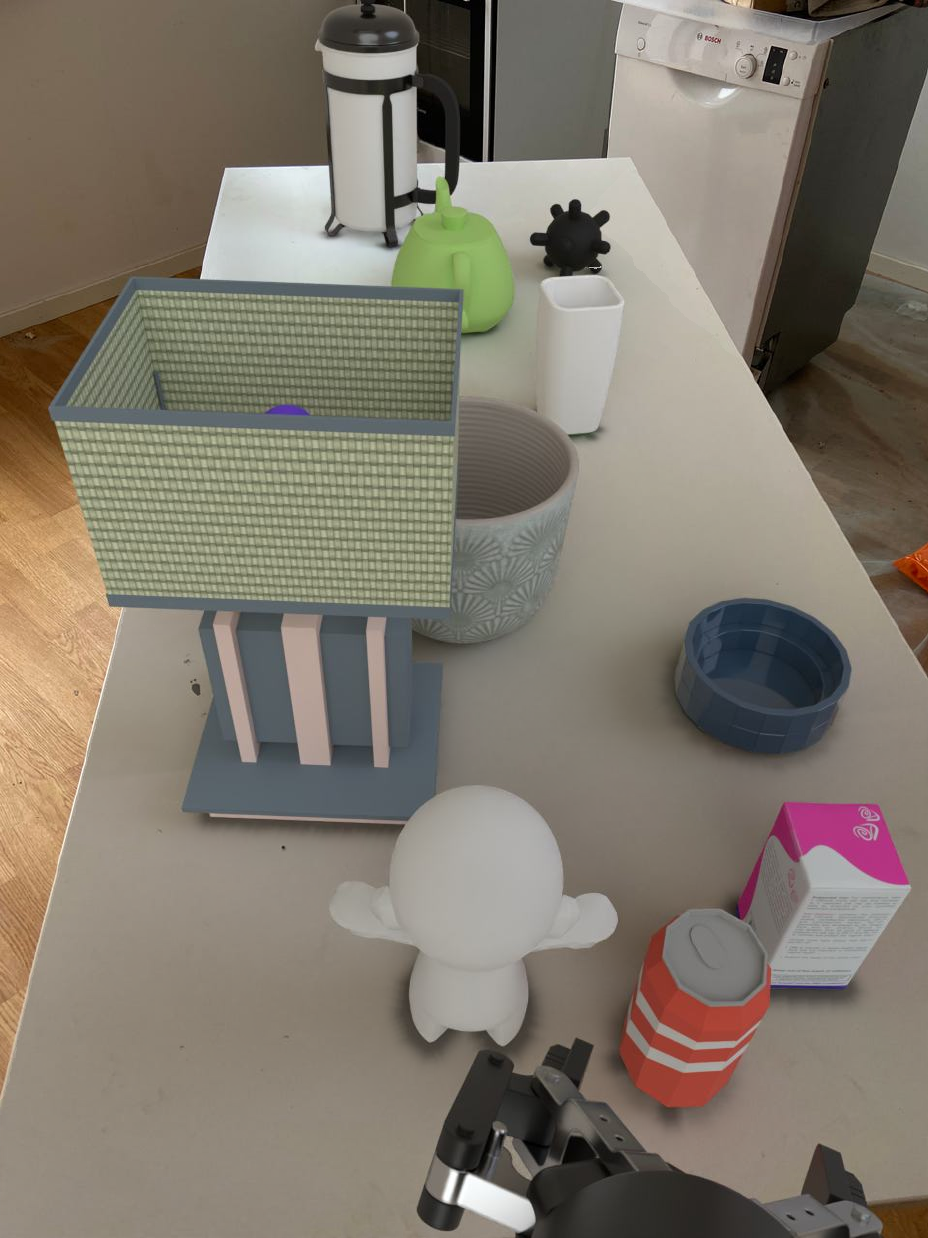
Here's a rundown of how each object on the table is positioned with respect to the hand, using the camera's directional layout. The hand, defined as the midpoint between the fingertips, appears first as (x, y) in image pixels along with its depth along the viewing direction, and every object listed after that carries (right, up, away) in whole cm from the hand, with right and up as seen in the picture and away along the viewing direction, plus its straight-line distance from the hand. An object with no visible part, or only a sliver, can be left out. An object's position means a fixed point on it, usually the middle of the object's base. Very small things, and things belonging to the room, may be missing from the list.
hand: (693, 1118), depth 34 cm
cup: (+3, +38, +71) cm, 80 cm away
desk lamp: (-18, +7, +38) cm, 42 cm away
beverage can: (+4, -8, +22) cm, 24 cm away
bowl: (+15, +11, +43) cm, 46 cm away
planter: (-8, +19, +50) cm, 54 cm away
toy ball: (+6, +64, +97) cm, 116 cm away
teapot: (-10, +56, +89) cm, 105 cm away
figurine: (-8, -6, +24) cm, 26 cm away
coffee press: (-19, +74, +107) cm, 131 cm away
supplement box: (+13, -3, +28) cm, 30 cm away
